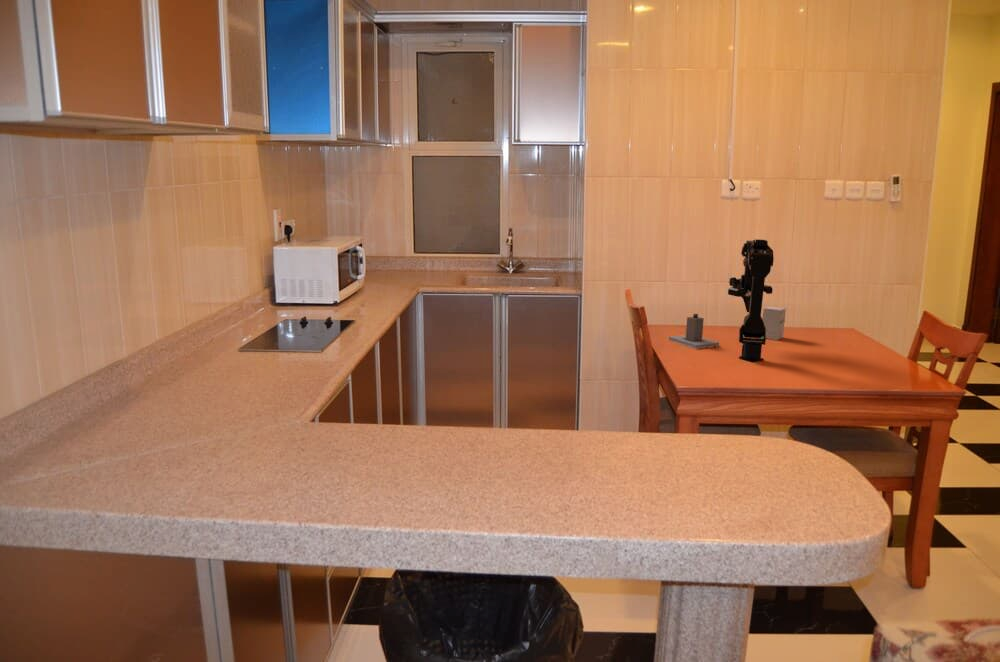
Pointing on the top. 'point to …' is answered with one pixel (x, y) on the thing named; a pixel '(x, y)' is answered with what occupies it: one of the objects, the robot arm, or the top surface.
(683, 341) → the socket
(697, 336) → the plug
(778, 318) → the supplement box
